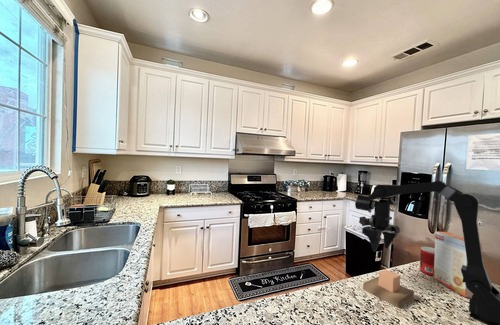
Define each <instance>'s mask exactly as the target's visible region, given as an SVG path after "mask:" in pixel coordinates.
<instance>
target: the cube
mask: <svg viewBox="0 0 500 325" xmlns="http://www.w3.org/2000/svg"><path fill="white" fill-rule="evenodd" d="M378 277H379V283H378V285H379V286H381V287H383V288H385V289H387V290H389V291H391V292H395V291H397V290H399V289H400V285H401V275H400V274H398V273H395V272H394V271H391V270H389V269H383V270H381V271H378Z"/></svg>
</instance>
